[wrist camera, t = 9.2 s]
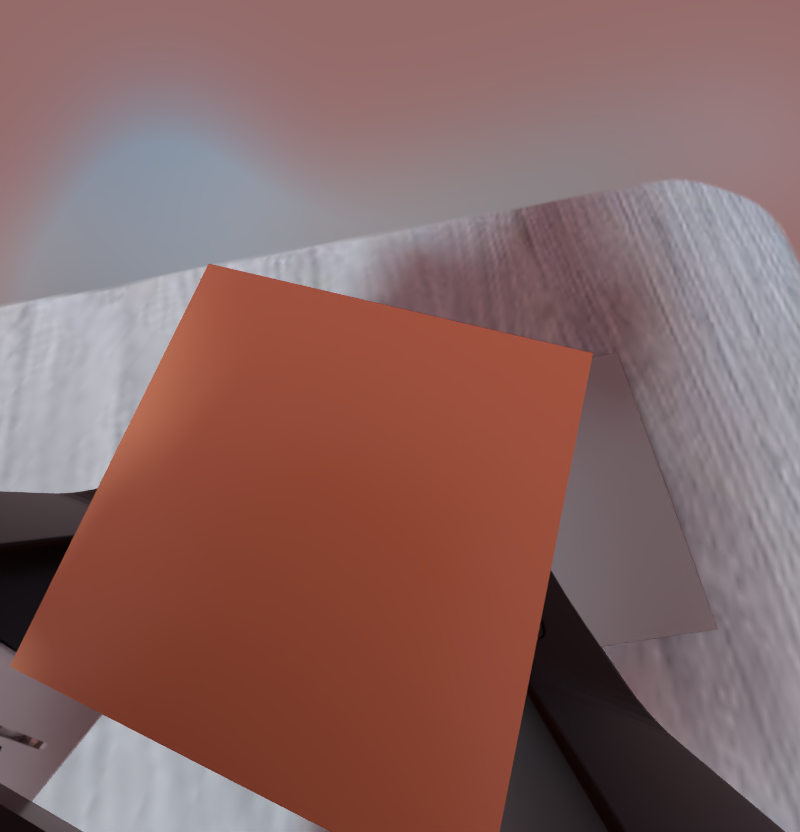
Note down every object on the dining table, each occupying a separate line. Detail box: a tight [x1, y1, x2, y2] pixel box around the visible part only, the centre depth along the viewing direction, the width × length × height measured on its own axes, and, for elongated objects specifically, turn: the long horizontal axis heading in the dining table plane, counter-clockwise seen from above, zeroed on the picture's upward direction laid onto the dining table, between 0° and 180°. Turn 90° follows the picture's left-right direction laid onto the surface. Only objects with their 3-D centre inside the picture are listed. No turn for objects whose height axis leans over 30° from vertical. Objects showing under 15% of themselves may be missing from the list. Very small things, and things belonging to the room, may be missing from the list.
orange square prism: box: [10, 264, 593, 832], centre depth 9 cm, size 4×4×13 cm
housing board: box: [551, 353, 718, 646], centre depth 16 cm, size 15×28×4 cm, turn 100°
